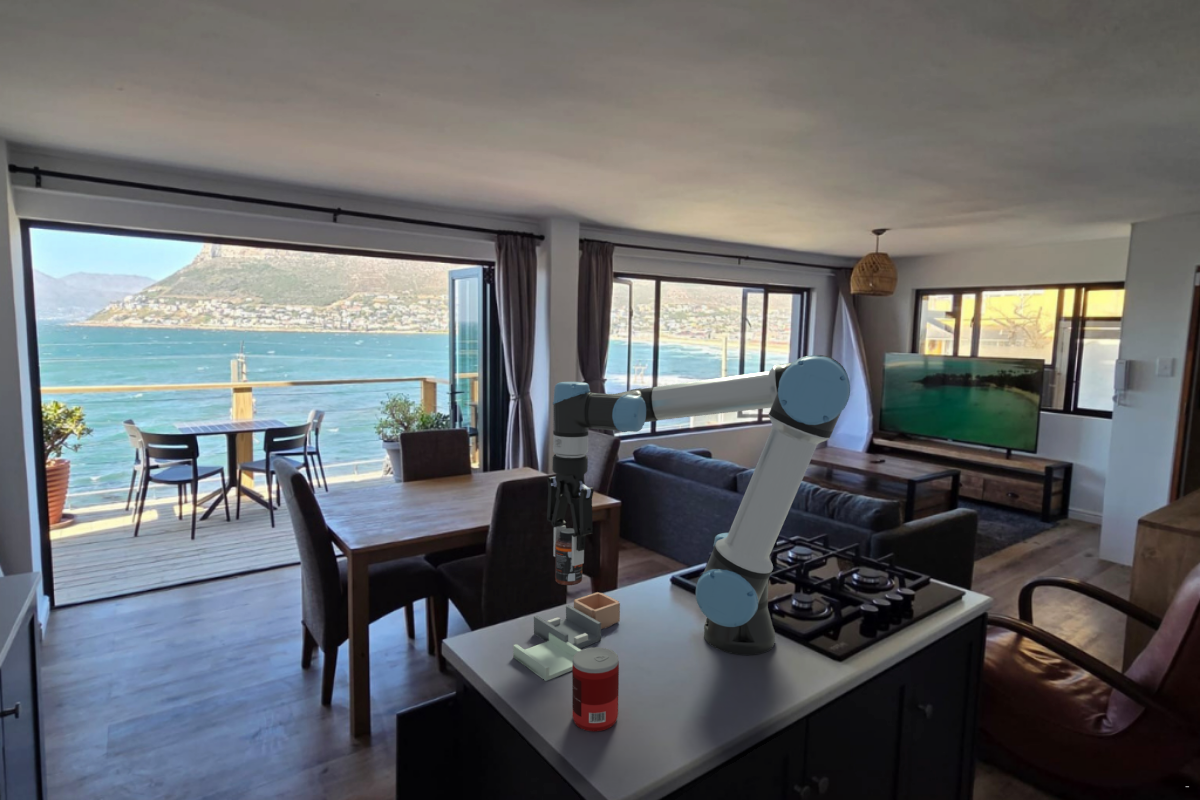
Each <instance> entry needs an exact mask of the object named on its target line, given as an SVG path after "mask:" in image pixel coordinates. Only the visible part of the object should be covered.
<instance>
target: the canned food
mask: <svg viewBox="0 0 1200 800" xmlns="http://www.w3.org/2000/svg"><path fill="white" fill-rule="evenodd" d="M580 650H581V651H579V652H577V653H576V654H575V655H574V657H573V666H572V678H571V679H572V681H571V682H572V683H571V684H572V693H571V694H572V695H571V697H572V702H571V703H572V704H571V705H572V708H571V709H572V719H573V722H574V724H575V725H576V727H578V728H580V729H581V730H583V729H584V731H587V732H601V731H605V730H608V729H610V728H612V727H613V726H614V725H615V724H616V722H617V719H618V717H619V685H620V684H619V681H620V680H619V675H620V674H619V673H620V667H619V666H620V665H619V663H620V660H619V655H618V654H617V653H616V652H615V651H614V650H611V649H609V648H606V647H605V648H604V647H588V648H583V649H580Z"/></svg>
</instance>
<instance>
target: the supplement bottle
mask: <svg viewBox="0 0 1200 800" xmlns="http://www.w3.org/2000/svg"><path fill="white" fill-rule="evenodd" d="M572 534H575V532H574V527H573V528H571V527H569V528H567V527H566V529H561V530H560V539H558V540H557V541H556V544H555V557H554V573H555V574H554V578H555V580H554V581H555V582H556V583H557V584H559V585H562V586H576V585H578V584H580V583H581V582H583V564H580V565H576V566H572V565H571V564H572Z"/></svg>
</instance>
